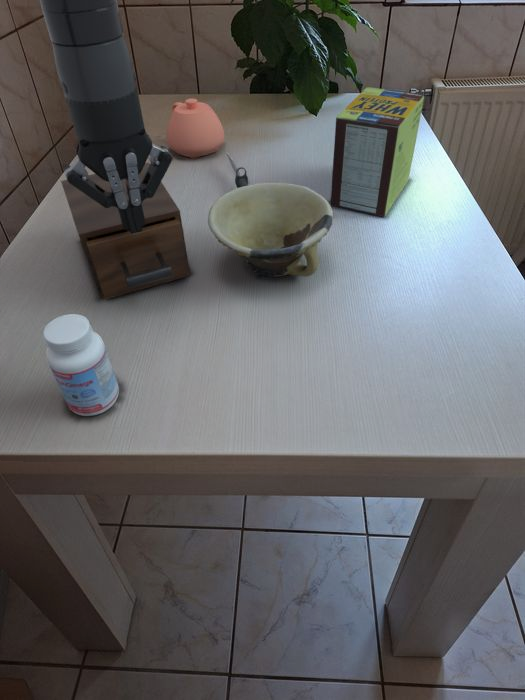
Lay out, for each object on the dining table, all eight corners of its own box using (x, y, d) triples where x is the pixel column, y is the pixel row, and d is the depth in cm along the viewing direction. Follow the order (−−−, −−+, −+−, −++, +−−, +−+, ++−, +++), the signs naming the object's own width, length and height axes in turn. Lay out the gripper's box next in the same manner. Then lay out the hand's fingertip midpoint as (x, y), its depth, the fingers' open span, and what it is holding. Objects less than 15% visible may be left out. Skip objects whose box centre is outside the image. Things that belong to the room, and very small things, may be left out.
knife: (221, 163, 101) (220, 139, 97) (233, 162, 101) (231, 138, 98) (246, 214, 89) (245, 189, 85) (258, 212, 89) (258, 187, 85)
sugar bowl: (189, 167, 102) (181, 115, 95) (154, 146, 110) (145, 97, 102) (236, 150, 107) (233, 100, 100) (200, 131, 115) (194, 83, 108)
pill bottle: (58, 413, 58) (23, 344, 50) (84, 375, 62) (54, 305, 54) (106, 422, 56) (77, 353, 48) (129, 382, 61) (105, 313, 53)
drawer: (200, 296, 71) (192, 242, 64) (112, 321, 67) (94, 267, 61) (161, 226, 84) (151, 176, 78) (86, 244, 81) (69, 193, 75)
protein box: (409, 180, 95) (425, 93, 84) (384, 218, 86) (399, 126, 75) (357, 170, 99) (366, 85, 88) (328, 205, 89) (334, 116, 78)
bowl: (191, 264, 78) (182, 208, 71) (278, 222, 86) (277, 169, 79) (264, 319, 68) (261, 261, 61) (354, 267, 76) (360, 210, 69)
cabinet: (190, 273, 76) (179, 210, 68) (100, 298, 72) (78, 234, 65) (160, 222, 87) (149, 162, 79) (81, 241, 83) (60, 180, 76)
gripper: (151, 66, 57) (175, 205, 69) (31, 86, 53) (79, 228, 65) (170, 86, 52) (192, 231, 64) (39, 108, 48) (89, 258, 60)
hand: (135, 229), depth 65 cm, fingers closed
